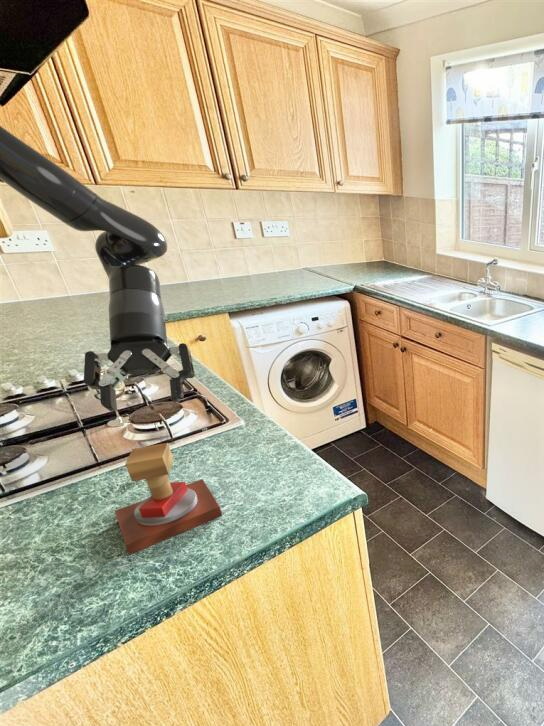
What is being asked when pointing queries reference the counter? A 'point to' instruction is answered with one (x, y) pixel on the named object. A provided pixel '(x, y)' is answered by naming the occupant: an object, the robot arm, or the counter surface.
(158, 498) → the stamp
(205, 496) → the stamp stand
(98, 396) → the wineglass
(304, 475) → the counter surface
